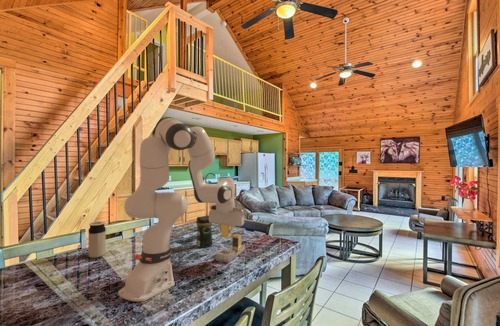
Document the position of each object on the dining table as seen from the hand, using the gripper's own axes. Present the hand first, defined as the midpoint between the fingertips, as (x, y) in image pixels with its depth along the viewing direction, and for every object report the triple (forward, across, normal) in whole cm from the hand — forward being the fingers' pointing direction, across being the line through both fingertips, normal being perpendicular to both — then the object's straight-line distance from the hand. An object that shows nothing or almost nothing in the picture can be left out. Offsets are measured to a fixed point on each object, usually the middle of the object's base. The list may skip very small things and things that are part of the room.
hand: (226, 232), depth 132 cm
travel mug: (+15, +68, +25) cm, 74 cm away
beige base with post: (+15, 0, -7) cm, 16 cm away
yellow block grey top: (+2, 0, 0) cm, 2 cm away
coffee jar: (+15, +22, -13) cm, 30 cm away
